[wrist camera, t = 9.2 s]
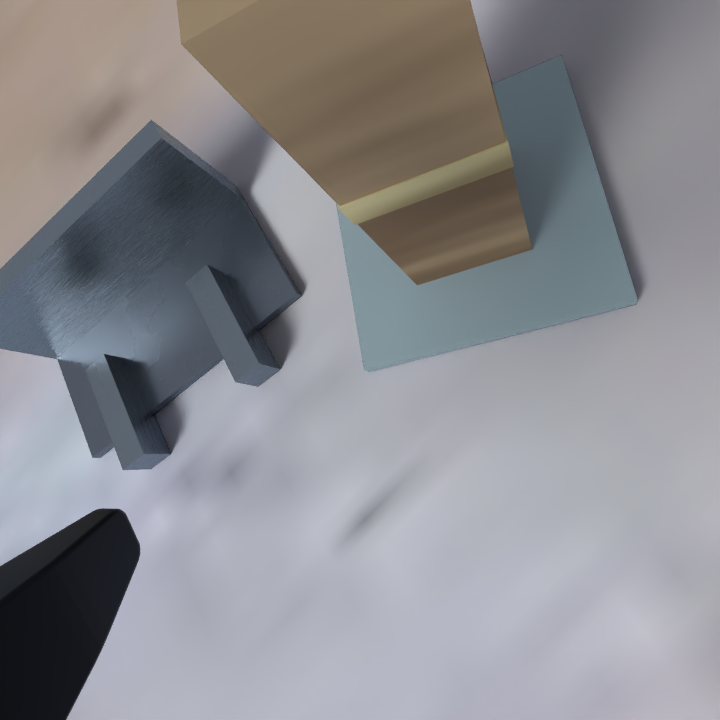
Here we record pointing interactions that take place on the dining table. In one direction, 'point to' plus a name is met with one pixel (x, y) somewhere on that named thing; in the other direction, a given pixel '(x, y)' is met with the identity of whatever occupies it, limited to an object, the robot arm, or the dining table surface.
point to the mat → (515, 273)
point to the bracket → (145, 292)
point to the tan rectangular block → (377, 117)
